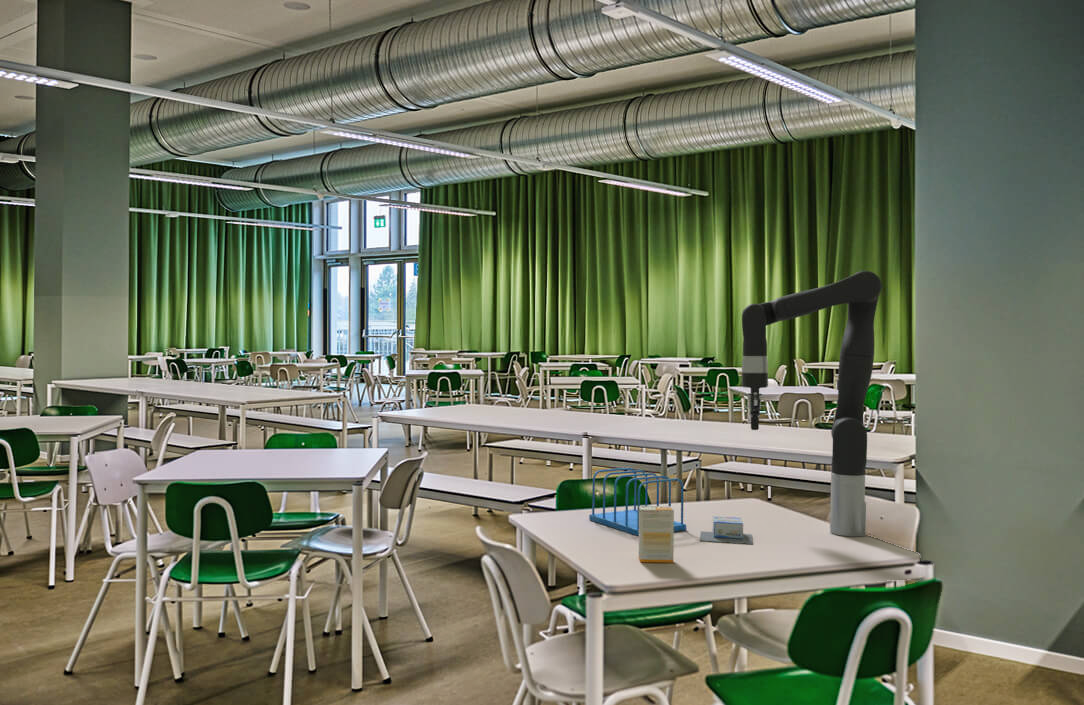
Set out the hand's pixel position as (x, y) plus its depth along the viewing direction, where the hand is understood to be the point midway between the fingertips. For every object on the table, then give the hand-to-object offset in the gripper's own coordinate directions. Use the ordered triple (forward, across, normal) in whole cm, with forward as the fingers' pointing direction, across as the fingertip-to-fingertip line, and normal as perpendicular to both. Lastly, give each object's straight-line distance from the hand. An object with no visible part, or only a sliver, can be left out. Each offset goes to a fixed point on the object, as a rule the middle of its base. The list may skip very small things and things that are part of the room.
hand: (754, 429), depth 260 cm
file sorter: (+28, -9, +34) cm, 45 cm away
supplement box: (+28, -52, +26) cm, 64 cm away
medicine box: (+26, -13, +8) cm, 30 cm away
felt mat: (+28, -20, +8) cm, 36 cm away
